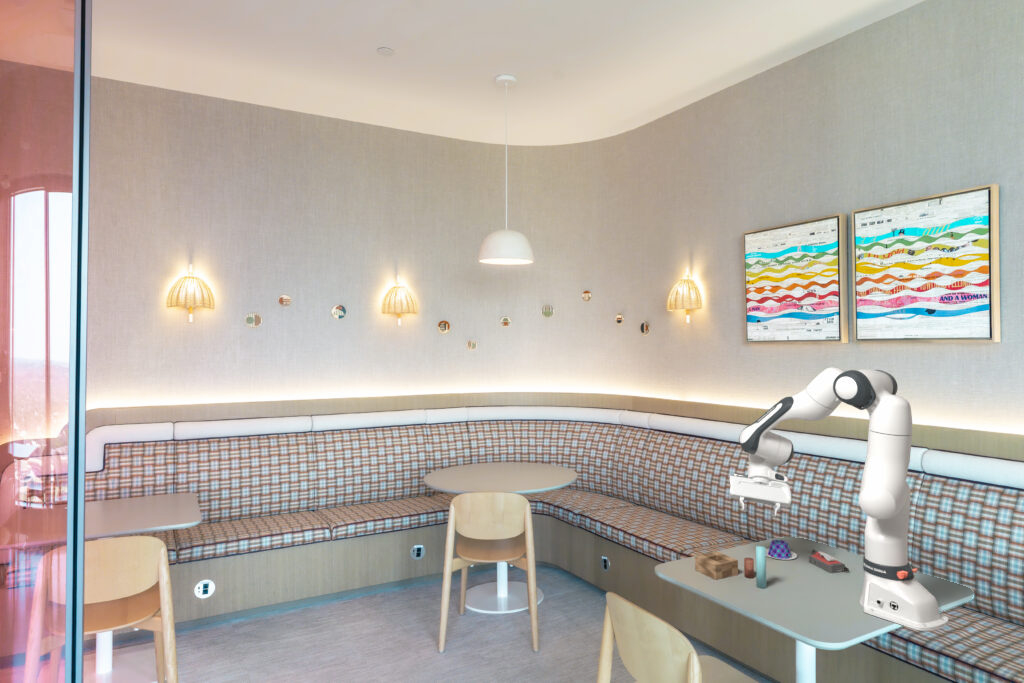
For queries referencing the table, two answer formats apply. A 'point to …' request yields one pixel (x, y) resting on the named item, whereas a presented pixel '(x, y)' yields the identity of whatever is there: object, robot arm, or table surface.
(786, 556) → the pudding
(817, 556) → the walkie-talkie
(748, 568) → the short pin
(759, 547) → the long pin
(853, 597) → the table surface
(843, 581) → the table surface
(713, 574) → the hole block
